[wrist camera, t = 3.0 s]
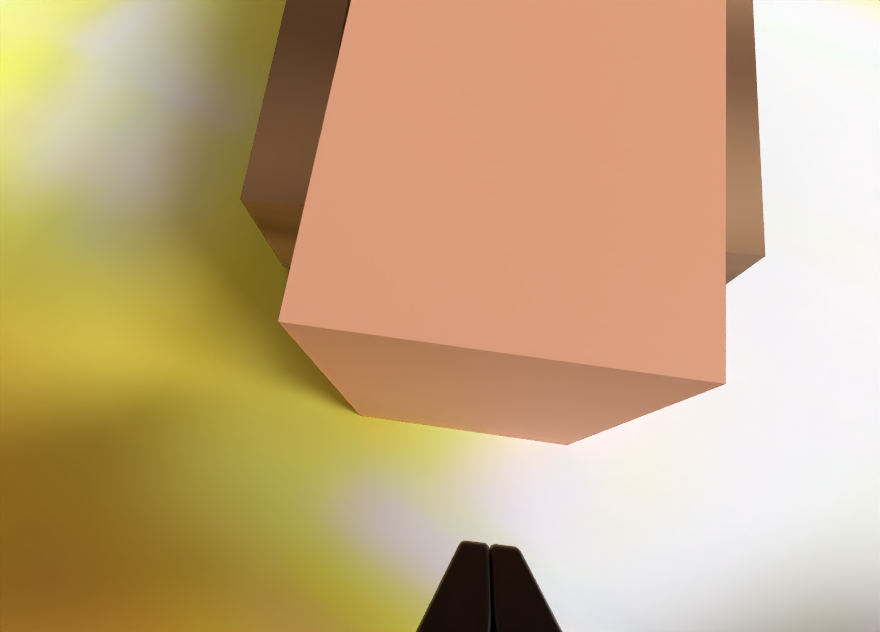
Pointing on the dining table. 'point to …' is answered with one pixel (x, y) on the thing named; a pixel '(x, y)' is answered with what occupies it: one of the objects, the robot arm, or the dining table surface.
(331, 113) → the block
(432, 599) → the robot arm
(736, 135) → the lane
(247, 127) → the dining table surface
